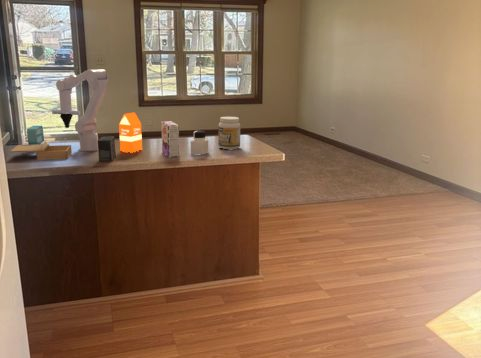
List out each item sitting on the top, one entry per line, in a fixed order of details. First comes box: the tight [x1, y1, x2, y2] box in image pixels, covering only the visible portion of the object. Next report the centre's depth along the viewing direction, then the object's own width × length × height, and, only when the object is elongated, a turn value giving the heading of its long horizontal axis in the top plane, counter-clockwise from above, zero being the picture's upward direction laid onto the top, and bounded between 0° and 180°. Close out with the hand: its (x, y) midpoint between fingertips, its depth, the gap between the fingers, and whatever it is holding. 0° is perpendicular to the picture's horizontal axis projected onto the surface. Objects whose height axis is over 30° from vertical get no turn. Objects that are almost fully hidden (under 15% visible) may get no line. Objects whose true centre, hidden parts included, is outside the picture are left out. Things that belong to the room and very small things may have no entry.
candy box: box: [160, 120, 180, 158], centre depth 230 cm, size 14×6×16 cm, turn 23°
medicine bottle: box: [190, 130, 209, 156], centre depth 234 cm, size 7×7×12 cm
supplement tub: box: [217, 116, 241, 150], centre depth 248 cm, size 12×12×17 cm
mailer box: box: [35, 144, 73, 161], centre depth 224 cm, size 14×14×4 cm
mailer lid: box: [10, 140, 50, 153], centre depth 221 cm, size 15×15×3 cm
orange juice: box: [118, 112, 143, 154], centre depth 237 cm, size 8×9×20 cm
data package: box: [26, 125, 45, 145], centre depth 238 cm, size 12×4×12 cm, turn 7°
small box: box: [97, 135, 117, 163], centre depth 219 cm, size 11×6×10 cm, turn 5°
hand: (67, 127), depth 245 cm, fingers closed
